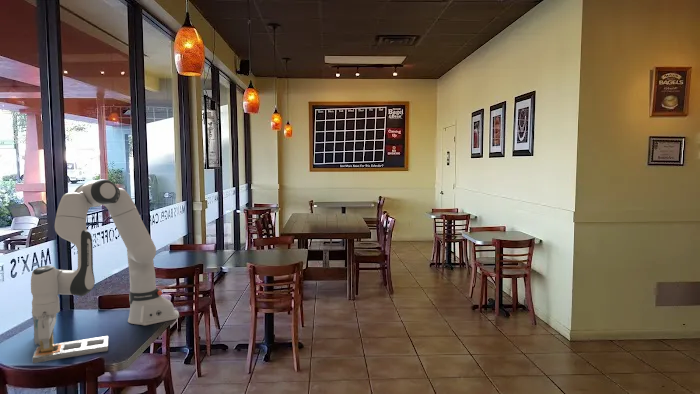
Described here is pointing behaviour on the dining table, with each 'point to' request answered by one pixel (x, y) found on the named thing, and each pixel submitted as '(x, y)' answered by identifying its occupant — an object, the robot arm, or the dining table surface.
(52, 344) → the brass peg
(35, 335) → the bottle
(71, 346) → the white slotted tray
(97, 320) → the dining table surface
